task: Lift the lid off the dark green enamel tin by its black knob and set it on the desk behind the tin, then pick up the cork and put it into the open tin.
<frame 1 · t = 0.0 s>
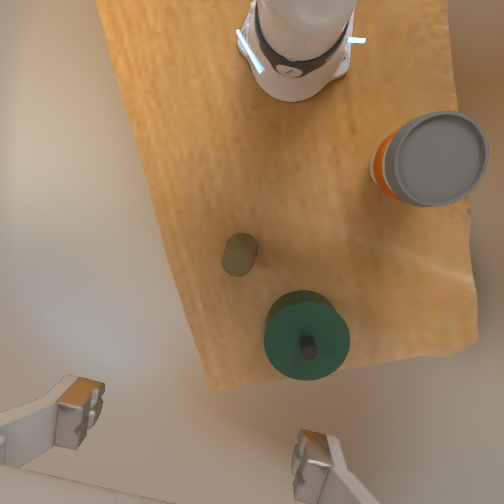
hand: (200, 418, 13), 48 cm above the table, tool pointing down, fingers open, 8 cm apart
tin: (301, 323, 63), on the table
lid: (306, 340, 56), point 7 cm above the table, touching tin
reusable coffee cup: (394, 165, 56), on the table
cork: (241, 248, 61), on the table
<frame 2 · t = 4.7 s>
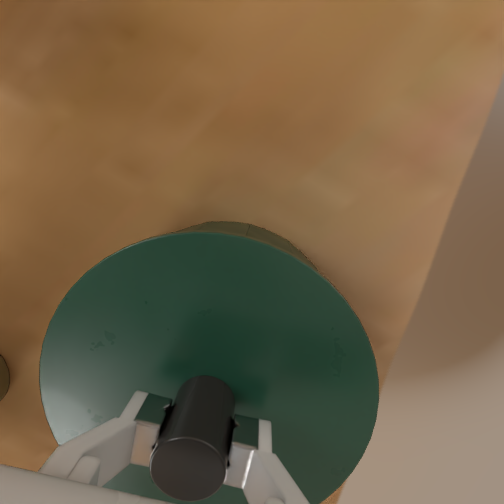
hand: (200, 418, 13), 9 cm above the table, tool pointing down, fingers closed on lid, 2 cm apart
tin: (226, 325, 21), on the table
lid: (208, 392, 15), point 7 cm above the table, touching gripper, tin
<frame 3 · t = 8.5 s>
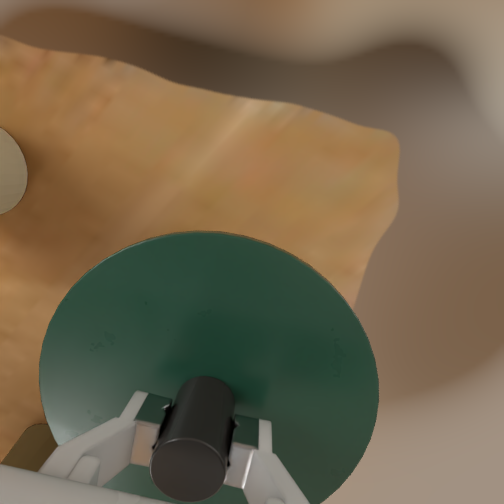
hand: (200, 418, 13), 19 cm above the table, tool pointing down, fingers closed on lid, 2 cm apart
lid: (208, 392, 15), point 17 cm above the table, touching gripper
cork: (47, 445, 37), on the table
when the fingers open (2 cm above the table, at t = 12.4 s): lid stays where it is, point 1 cm above the table.
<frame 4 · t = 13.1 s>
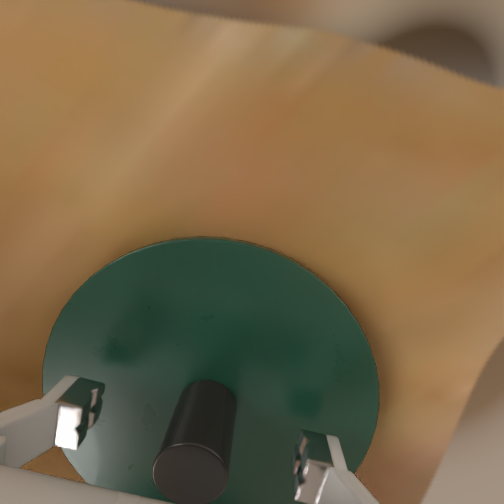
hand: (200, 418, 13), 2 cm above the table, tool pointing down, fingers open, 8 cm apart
lid: (209, 396, 15), point 1 cm above the table
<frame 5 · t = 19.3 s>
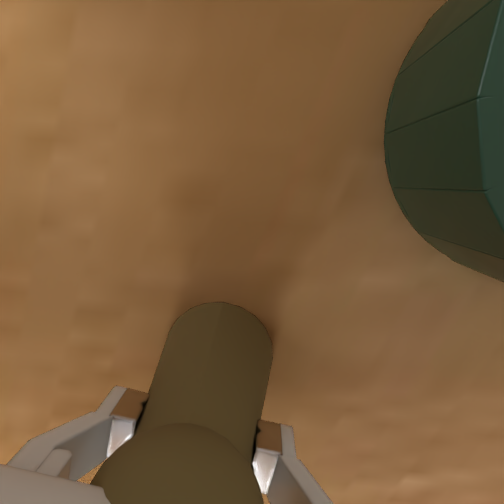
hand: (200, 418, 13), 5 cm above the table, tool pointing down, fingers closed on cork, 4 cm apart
cork: (219, 350, 18), on the table, touching gripper
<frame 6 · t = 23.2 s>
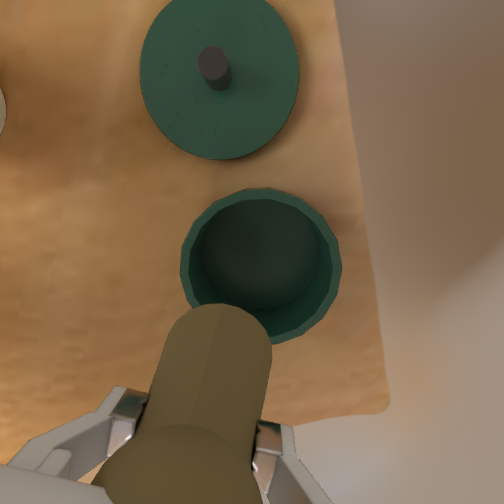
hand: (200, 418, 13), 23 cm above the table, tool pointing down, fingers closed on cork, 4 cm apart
tin: (260, 253, 35), on the table
lid: (219, 78, 30), point 1 cm above the table
cork: (219, 351, 18), point 17 cm above the table, touching gripper
when the fingers open (6 cm above the table, at t = 27.6 s): cork stays where it is, resting on tin.
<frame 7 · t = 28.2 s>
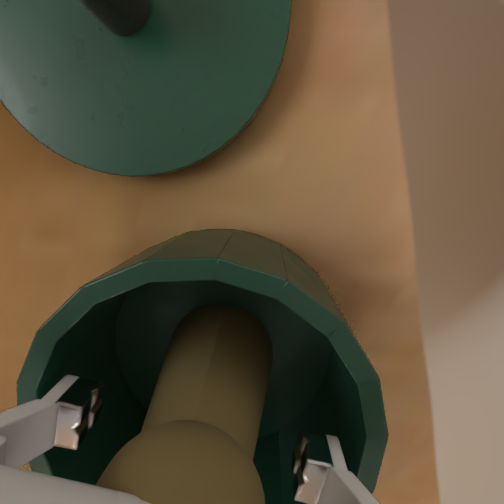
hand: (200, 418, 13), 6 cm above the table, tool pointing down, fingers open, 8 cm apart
tin: (222, 345, 19), on the table
lid: (128, 10, 15), point 1 cm above the table
cork: (221, 351, 19), resting on tin
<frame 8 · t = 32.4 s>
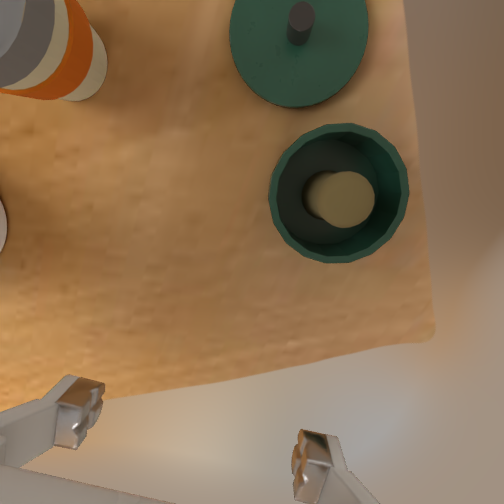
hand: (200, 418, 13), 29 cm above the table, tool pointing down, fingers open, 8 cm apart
tin: (325, 193, 39), on the table
lid: (297, 35, 35), point 1 cm above the table
reusable coffee cup: (70, 60, 37), on the table
cork: (325, 195, 39), resting on tin
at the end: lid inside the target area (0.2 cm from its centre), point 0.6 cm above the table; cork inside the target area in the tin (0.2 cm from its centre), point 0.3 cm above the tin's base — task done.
